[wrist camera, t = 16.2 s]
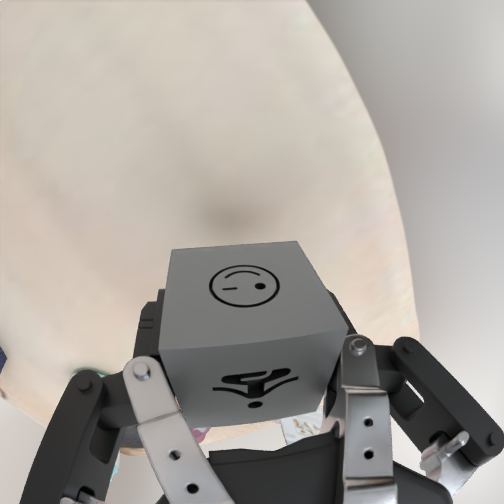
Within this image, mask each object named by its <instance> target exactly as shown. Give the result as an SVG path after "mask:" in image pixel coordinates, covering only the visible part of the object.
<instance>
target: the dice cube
mask: <svg viewBox="0 0 504 504" xmlns="http://www.w3.org/2000/svg"><path fill="white" fill-rule="evenodd" d="M348 329H349V327H348V325H347V324H346V322H345V320H344V318H343V317H342V315H341V313H340V312H339V310H338V308H337V306H336V305H335V303H334V301H333V300H332V298H331V296H330V295H329V293H328V291H327V289H326V288H325V286H324V284H323V283H322V281H321V280H320V278H319V276H318V275H317V273H316V271H315V270H314V268H313V266H312V265H311V263H310V262H309V260H308V258H307V257H306V255H305V253H304V252H303V250H302V249H301V247H300V245H299V244H298V242H297V241H288V242H272V243H258V244H243V245H229V246H215V247H201V248H187V249H174V250H172V251H171V257H170V263H169V269H168V275H167V282H166V289H165V296H164V304H163V312H162V320H161V329H160V338H159V348H158V350H159V353H160V356H161V359H162V361H163V364H164V367H165V370H166V372H167V375H168V377H169V380H170V383H171V385H172V388H173V390H174V393H175V395H176V398H177V400H178V402H179V405H180V407H181V409H182V412H183V414H184V416H185V418H186V421H187V423H188V425H189V427H190V428H205V427H220V426H231V425H240V424H249V423H256V422H263V421H270V420H276V419H282V418H287V417H292V416H297V415H302V414H307V413H311V412H316V411H317V409H318V406H319V404H320V402H321V399H322V397H323V395H324V392H325V390H326V388H327V385H328V383H329V380H330V378H331V375H332V373H333V370H334V368H335V365H336V362H337V360H338V357H339V354H340V352H341V349H342V346H343V343H344V341H345V338H346V335H347V332H348Z"/></svg>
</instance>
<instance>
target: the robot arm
mask: <svg viewBox="0 0 504 504" xmlns="http://www.w3.org/2000/svg"><path fill="white" fill-rule="evenodd" d="M327 291H328V293H329V295H330V296H331V298H332V300H333V301H334V303H335V305H336V306H337V308H338V310H339V312H340V313H341V315H342V317H343V318H344V320H345V322H346V324H347V325H348V327H349V329H348V332H347V335H346V338H345V341H344V343H343V346H342V349H341V352H340V354H339V357H338V360H337V362H336V365H335V368H334V370H333V373H332V375H331V378H330V380H329V383H328V385H327V388H326V390H325V392H324V405H323V419H322V425H321V429H320V432H319V434H318V435H314V436H310V437H306V438H302V439H300V440H298V441H296V442H294V443H292V444H290V445H287V446H285V447H283V448H281V449H278V450H275V451H263V450H250V449H231V450H219V451H209V458H206V457H205V455H204V453H203V452H202V450H201V448H200V446H199V444H198V443H197V441H196V439H195V437H194V435H193V433H192V431H191V429H190V427H189V426H188V424H187V422H186V420H185V418H184V416H183V414H182V412H181V411H180V409H179V407H178V404H177V402H176V400H175V393H174V390H173V388H172V385H171V383H170V380H169V377H168V375H167V372H166V370H165V367H164V364H163V361H162V359H161V356H160V353H159V350H158V348H159V338H160V329H161V320H162V312H163V304H164V296H165V289H159V291H158V297H157V301H155V302H147V304H146V305H145V306H144V308H143V309H142V310H141V315H140V321H139V325H138V331H137V336H136V342H135V348H134V354H133V359H131V360H130V361H129V362H128V363H127V364H126V365H125V367H124V369H123V371H121V372H119V373H116V374H113V375H109V376H105V377H100V375H99V374H98V373H96V372H94V371H91V370H83V371H80V372H78V373H76V374H75V375H74V376H73V377H72V378H71V380H70V381H69V383H68V385H67V387H66V389H65V391H64V393H63V395H62V397H61V399H60V401H59V404H58V406H57V408H56V410H55V412H54V414H53V416H52V418H51V421H50V423H49V425H48V427H47V430H46V432H45V434H44V437H43V439H42V441H41V444H40V446H39V449H38V451H37V454H36V457H35V459H34V462H33V464H32V467H31V470H30V472H29V475H28V478H27V481H26V484H25V487H24V490H23V494H22V497H21V500H20V503H19V504H107V503H105V498H106V494H107V490H108V487H109V483H110V480H111V476H112V473H113V469H114V466H115V463H116V459H117V456H118V453H119V450H120V447H121V443H122V440H123V437H124V434H125V431H126V428H127V426H130V425H134V424H138V425H137V430H138V434H139V436H140V439H141V442H142V444H143V447H144V449H145V452H146V454H147V456H148V459H149V461H150V463H151V466H152V468H153V470H154V472H155V474H156V477H157V479H158V481H159V483H160V485H161V487H162V489H163V491H164V494H163V495H162V497H161V498H160V499H159V500H158V501H157V503H156V504H453V500H452V497H453V496H454V495H455V494H456V493H457V492H458V490H460V488H461V487H462V486H463V485H464V484H465V483H466V482H467V480H468V479H469V478H470V477H471V476H472V474H473V473H474V472H475V471H476V470H477V468H478V467H480V466H482V465H483V464H485V463H486V462H488V461H489V460H491V459H492V458H494V457H495V456H497V455H498V454H499V453H500V452H501V451H502V449H503V448H504V433H503V431H502V429H501V428H500V427H499V426H498V425H497V423H495V421H494V420H493V419H492V418H491V417H490V416H489V415H488V413H487V412H486V411H485V410H484V409H483V408H482V407H481V406H480V404H479V403H478V402H477V401H476V400H475V399H474V398H473V397H472V396H471V395H470V394H469V393H468V392H467V391H466V389H465V388H464V387H463V386H462V385H461V384H460V383H459V382H458V381H457V380H456V379H455V378H454V377H453V376H452V375H451V374H450V373H449V372H448V371H447V370H446V369H445V368H444V367H443V366H442V365H441V364H440V363H439V362H438V361H437V360H436V359H435V358H434V357H433V356H432V355H431V354H430V353H429V352H428V351H427V350H426V349H425V348H424V347H423V346H422V345H421V344H420V343H419V342H418V341H417V340H415V339H413V338H411V337H400V338H398V339H397V340H396V341H395V343H394V344H393V346H384V345H374V344H373V342H372V341H371V340H370V339H369V338H367V337H365V336H363V335H360V334H357V332H356V330H355V329H354V327H353V325H352V323H351V322H350V320H349V318H348V317H347V315H346V313H345V312H344V311H343V308H342V307H341V305H340V304H339V302H338V300H337V299H336V297H335V295H334V294H333V293H331V292H330V291H329V290H327ZM407 380H408V382H409V383H410V384H411V385H412V386H413V387H414V388H415V389H416V390H417V392H418V393H419V394H420V395H421V396H422V397H423V399H424V403H423V402H422V400H421V399H420V398H419V397H418V396H417V395H416V394H415V393H414V392H413V390H412V389H411V388H410V387H409V386H408V385H407V384H406V382H407ZM390 415H391V416H392V417H393V419H394V420H395V421H396V422H397V424H398V425H399V426H400V427H401V428H402V430H403V431H404V432H405V433H406V435H407V436H408V437H409V438H410V440H411V441H412V442H413V443H414V444H415V446H416V447H417V448H418V450H419V451H420V452H421V453H422V457H421V462H420V468H421V469H422V470H425V471H426V476H423V475H421V474H419V473H417V472H415V471H413V470H411V469H409V468H407V467H405V466H403V465H401V464H399V463H397V462H395V461H393V460H392V459H393V458H392V434H391V422H390Z"/></svg>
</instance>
